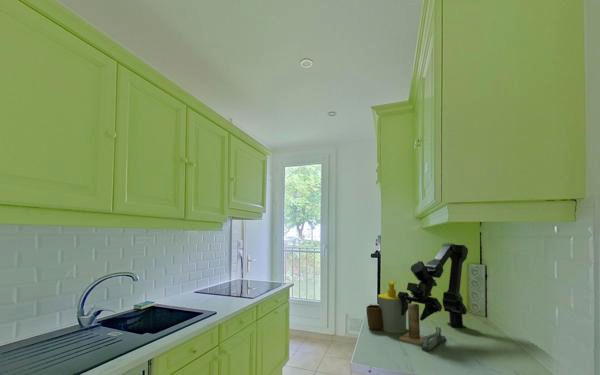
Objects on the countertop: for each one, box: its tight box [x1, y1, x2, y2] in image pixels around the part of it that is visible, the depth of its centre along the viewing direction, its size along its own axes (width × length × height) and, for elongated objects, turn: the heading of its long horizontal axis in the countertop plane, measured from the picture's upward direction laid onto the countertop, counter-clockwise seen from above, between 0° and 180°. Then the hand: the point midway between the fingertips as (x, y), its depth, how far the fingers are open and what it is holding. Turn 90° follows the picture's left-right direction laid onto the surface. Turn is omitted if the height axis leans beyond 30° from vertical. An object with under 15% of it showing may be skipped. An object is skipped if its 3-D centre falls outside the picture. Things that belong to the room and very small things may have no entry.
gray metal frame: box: [421, 326, 446, 353], centre depth 123 cm, size 19×3×4 cm, turn 139°
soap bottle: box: [377, 281, 407, 334], centre depth 145 cm, size 13×13×21 cm
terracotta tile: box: [399, 331, 425, 346], centre depth 128 cm, size 9×9×1 cm
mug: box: [365, 304, 383, 331], centre depth 147 cm, size 12×8×9 cm, turn 1°
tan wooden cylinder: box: [407, 302, 421, 339], centre depth 129 cm, size 4×4×13 cm
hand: (411, 317), depth 129 cm, fingers open, 9 cm apart
